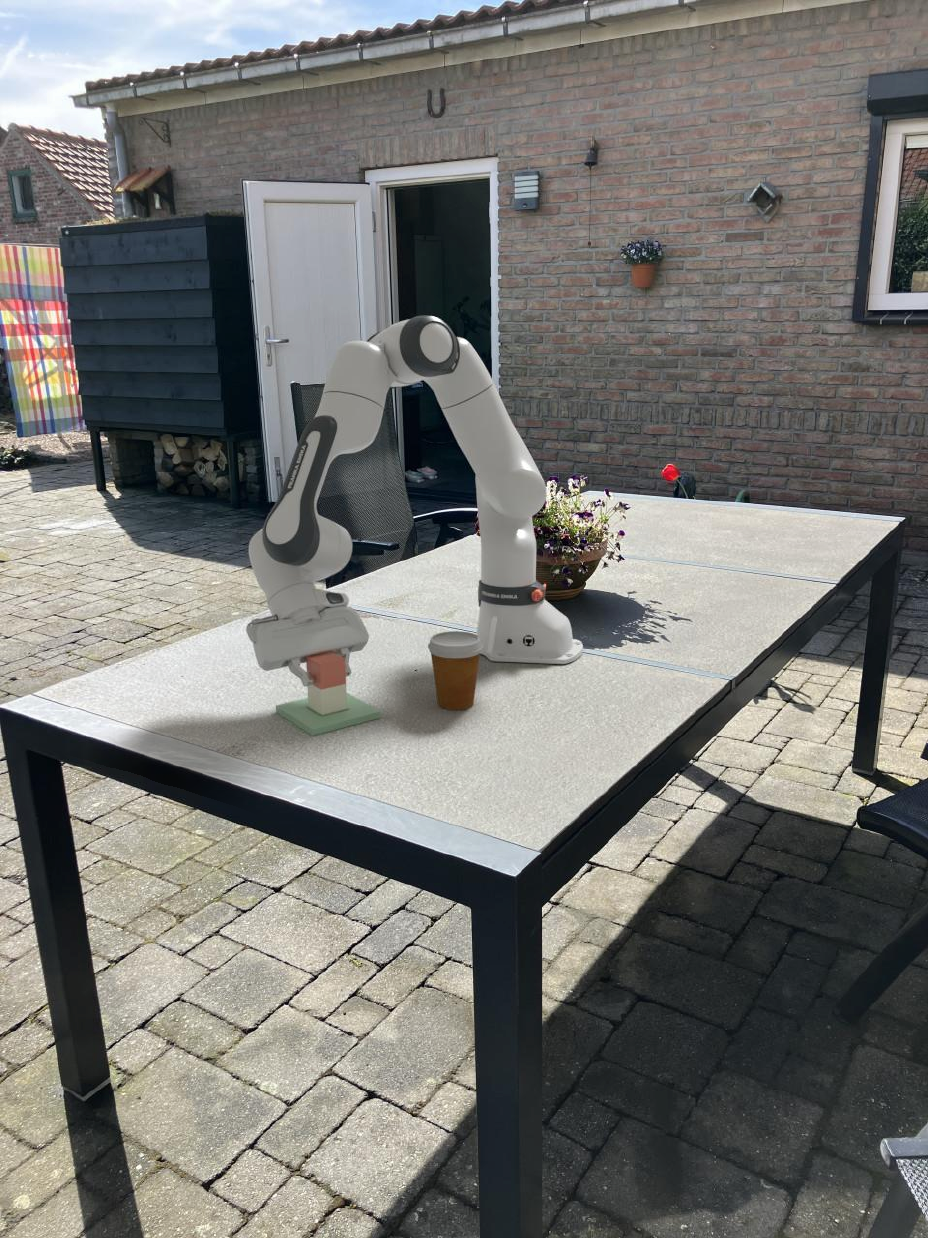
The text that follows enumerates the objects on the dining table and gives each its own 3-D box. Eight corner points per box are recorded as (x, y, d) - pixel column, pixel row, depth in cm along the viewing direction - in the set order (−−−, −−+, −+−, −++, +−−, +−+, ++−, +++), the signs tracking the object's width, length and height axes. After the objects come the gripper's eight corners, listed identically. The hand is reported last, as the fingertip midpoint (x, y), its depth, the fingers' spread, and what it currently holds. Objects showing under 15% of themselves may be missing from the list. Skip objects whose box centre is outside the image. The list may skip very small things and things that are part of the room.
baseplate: (341, 695, 184) (341, 689, 183) (380, 718, 174) (380, 710, 173) (275, 712, 176) (275, 704, 176) (312, 736, 166) (312, 728, 166)
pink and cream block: (332, 700, 178) (331, 651, 175) (347, 708, 174) (345, 658, 172) (308, 706, 175) (306, 656, 173) (322, 715, 172) (320, 664, 169)
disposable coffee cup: (464, 717, 174) (464, 650, 171) (417, 706, 179) (417, 641, 175) (492, 700, 182) (493, 636, 178) (447, 690, 187) (447, 627, 183)
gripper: (247, 611, 169) (277, 683, 164) (354, 592, 181) (385, 659, 176) (237, 631, 174) (266, 701, 169) (342, 610, 186) (372, 676, 181)
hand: (328, 679), depth 173 cm, fingers open, 6 cm apart
